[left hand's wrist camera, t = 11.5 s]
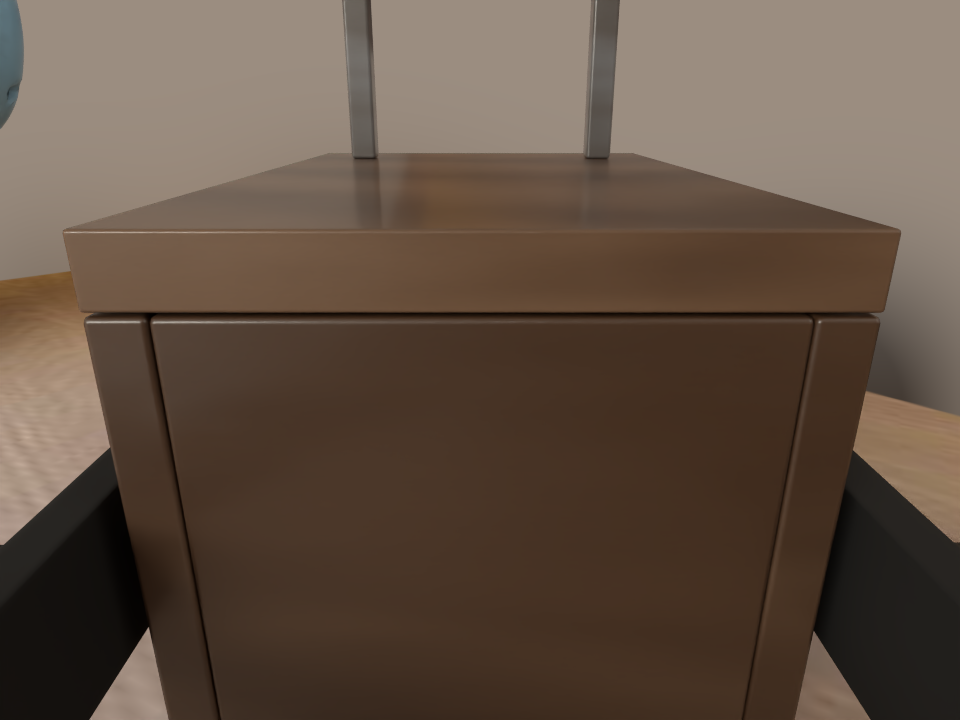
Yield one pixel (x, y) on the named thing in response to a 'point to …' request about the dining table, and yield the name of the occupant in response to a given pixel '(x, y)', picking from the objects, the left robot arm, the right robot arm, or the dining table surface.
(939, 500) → the dining table surface
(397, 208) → the lid
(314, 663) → the chest
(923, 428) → the dining table surface
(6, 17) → the right robot arm
